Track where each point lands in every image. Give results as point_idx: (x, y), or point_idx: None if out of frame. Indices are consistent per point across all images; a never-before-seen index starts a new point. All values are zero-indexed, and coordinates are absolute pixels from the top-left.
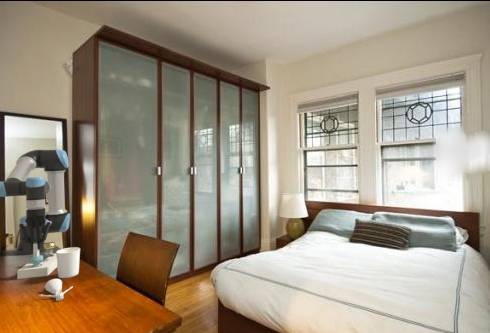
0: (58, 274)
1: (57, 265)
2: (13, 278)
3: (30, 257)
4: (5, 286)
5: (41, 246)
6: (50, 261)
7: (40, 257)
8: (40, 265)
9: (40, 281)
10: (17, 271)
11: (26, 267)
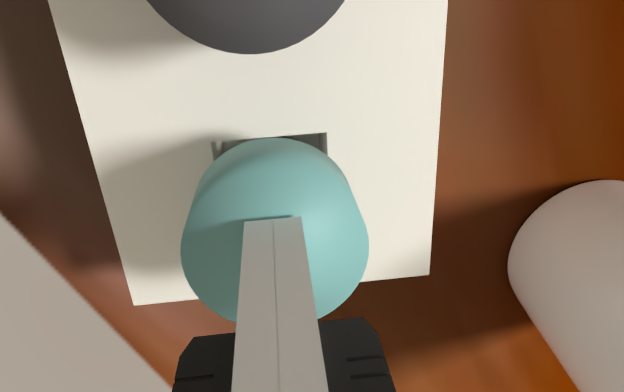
0: (526, 312)
1: (567, 372)
2: (94, 222)
3: (188, 269)
4: (166, 376)
5: (383, 356)
6: (386, 28)
7: (354, 286)
8: (293, 131)
9: (393, 335)
10: (137, 299)
11: (173, 224)
